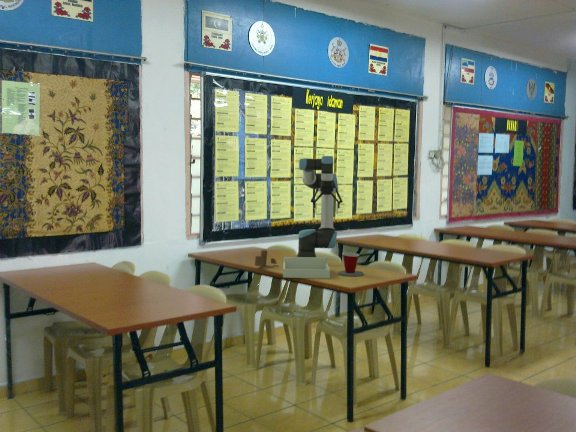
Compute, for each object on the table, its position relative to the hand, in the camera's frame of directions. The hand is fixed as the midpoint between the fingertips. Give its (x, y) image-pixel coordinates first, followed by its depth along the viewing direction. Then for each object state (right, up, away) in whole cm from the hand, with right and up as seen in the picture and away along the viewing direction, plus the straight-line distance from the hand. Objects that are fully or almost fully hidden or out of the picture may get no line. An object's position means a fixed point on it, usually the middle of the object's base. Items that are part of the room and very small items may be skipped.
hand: (326, 213), depth 384 cm
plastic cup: (+14, -37, -9) cm, 41 cm away
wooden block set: (-41, -35, +15) cm, 56 cm away
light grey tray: (-13, -37, -9) cm, 41 cm away
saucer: (+15, -38, -9) cm, 41 cm away
